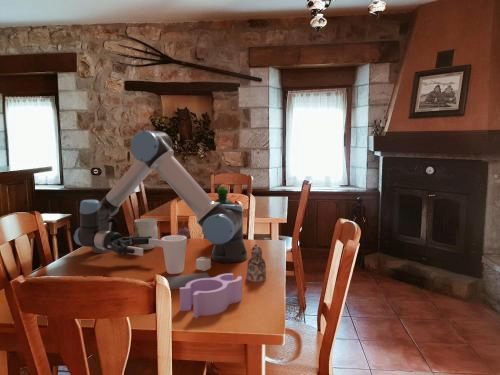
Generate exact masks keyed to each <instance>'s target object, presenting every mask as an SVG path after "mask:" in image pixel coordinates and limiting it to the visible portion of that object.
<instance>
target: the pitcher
mask: <svg viewBox="0 0 500 375" xmlns="http://www.w3.org/2000/svg"><path fill="white" fill-rule="evenodd" d="M133 222H134V225H135V227H134V230H133V235H134V236H141V237H149V236H151V237H152V239H158V240H159V228H158V226H157V225H158V219H157V218H155V217H144V218H138V219H134V221H133ZM136 247H137V248H143V251H144V250H152V249H154V248H156V246H151V245H149V244H142V245H136Z"/></svg>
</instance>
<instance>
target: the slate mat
mask: <svg viewBox="0 0 500 375" xmlns="http://www.w3.org/2000/svg"><path fill="white" fill-rule="evenodd" d="M165 278H166V279H167V280H168V282H169V286H170V290H169V291H172V290H173V291H174V290H180V287H186V284H187V283H188V282H190V281H193V280H196V279H201V278H212V277H211V276H210V275H209V274H208V272H200V273H199V272H198V273H194V274H193V273H192V274H183V275H176V276H168V277H165Z"/></svg>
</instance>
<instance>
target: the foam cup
mask: <svg viewBox="0 0 500 375" xmlns="http://www.w3.org/2000/svg"><path fill="white" fill-rule="evenodd" d="M187 239H188V238H186V237H185V236H181V235H178V234H176V235H174V234H173V235H166V236H163V237H161V240H162V246H163V247H162V251H163V258H164V263H165V269H166V273H167V274H170V275H176V274H177V275H178V274H181V273H183V272H184V269H185V262H186V260H185V259H186V249H187V244H188V240H187Z"/></svg>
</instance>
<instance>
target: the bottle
mask: <svg viewBox="0 0 500 375" xmlns="http://www.w3.org/2000/svg"><path fill="white" fill-rule="evenodd" d="M216 193H217V196H218V198H217V199H215V200H213V202H219V203H220V204H228V205H234V204H233V202H232V200H230V199H228V198H227V197H228V194H229V191H228V188H226V185H219V188H217V191H216Z"/></svg>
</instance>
